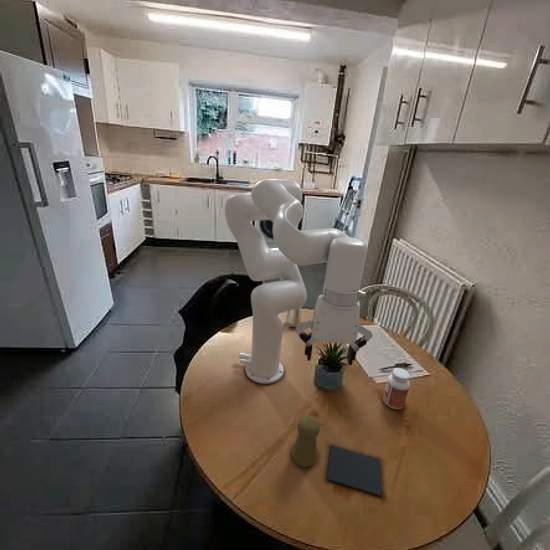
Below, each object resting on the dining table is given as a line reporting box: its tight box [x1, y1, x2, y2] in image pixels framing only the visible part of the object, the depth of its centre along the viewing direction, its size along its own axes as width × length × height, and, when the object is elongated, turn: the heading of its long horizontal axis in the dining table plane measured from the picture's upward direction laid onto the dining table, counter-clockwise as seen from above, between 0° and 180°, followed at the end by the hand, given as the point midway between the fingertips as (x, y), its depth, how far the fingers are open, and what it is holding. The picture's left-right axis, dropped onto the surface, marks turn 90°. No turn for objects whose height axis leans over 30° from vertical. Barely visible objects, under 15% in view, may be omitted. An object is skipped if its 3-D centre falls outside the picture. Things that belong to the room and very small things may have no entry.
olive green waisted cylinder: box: [291, 415, 321, 468], centre depth 74 cm, size 6×6×11 cm
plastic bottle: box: [285, 307, 302, 328], centre depth 127 cm, size 6×7×20 cm
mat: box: [326, 445, 382, 497], centre depth 73 cm, size 12×9×1 cm
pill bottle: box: [382, 367, 411, 410], centre depth 92 cm, size 6×6×11 cm
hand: (328, 359), depth 73 cm, fingers open, 9 cm apart
